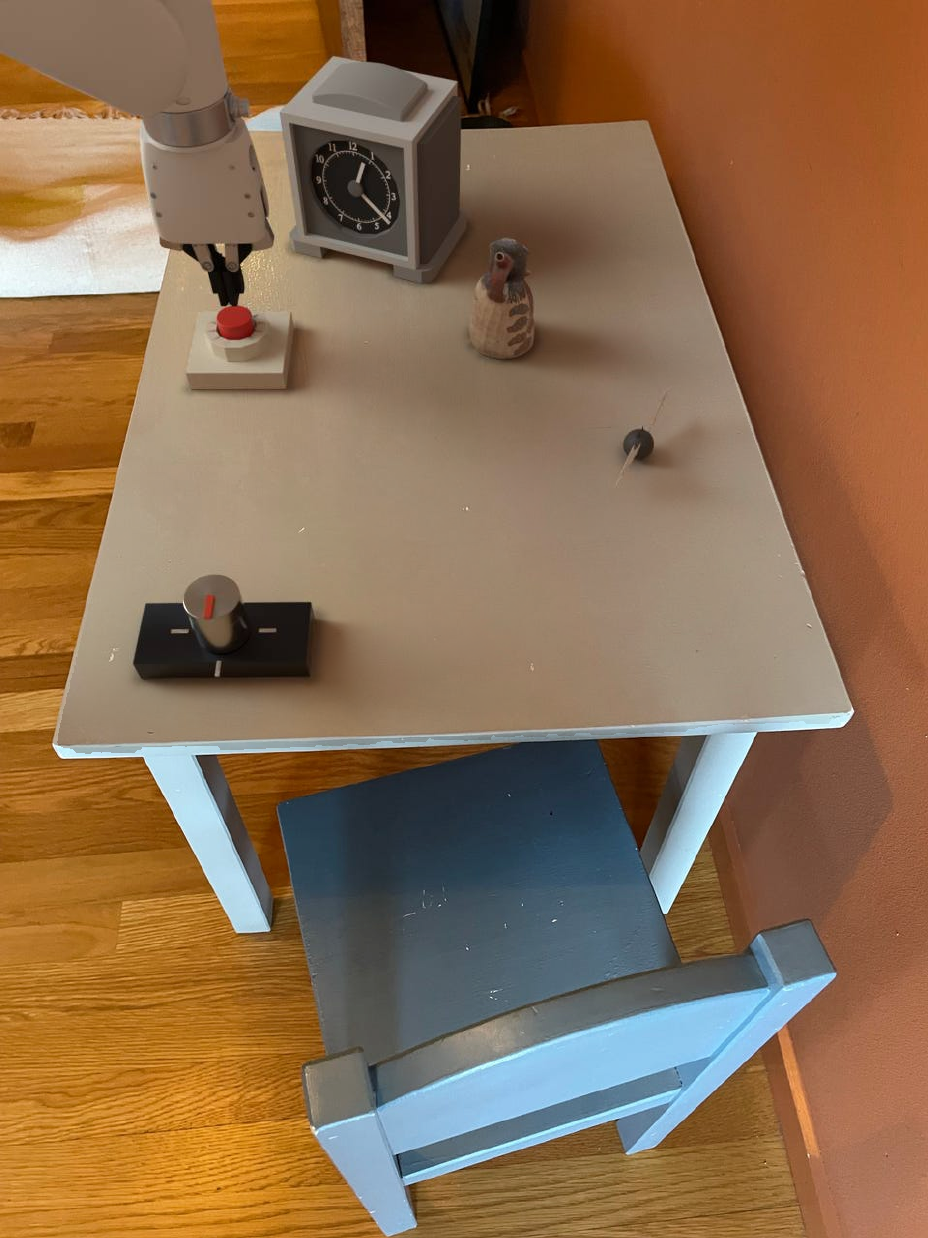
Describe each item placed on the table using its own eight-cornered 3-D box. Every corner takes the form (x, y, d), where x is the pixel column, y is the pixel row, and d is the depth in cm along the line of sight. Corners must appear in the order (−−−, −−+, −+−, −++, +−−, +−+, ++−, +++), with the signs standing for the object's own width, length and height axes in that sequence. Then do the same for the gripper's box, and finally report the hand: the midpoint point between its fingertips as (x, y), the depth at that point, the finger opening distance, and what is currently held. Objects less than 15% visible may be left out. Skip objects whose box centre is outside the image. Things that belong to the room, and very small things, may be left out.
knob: (200, 609, 76) (185, 572, 72) (253, 609, 76) (241, 571, 72) (193, 654, 74) (177, 618, 69) (248, 653, 74) (235, 617, 69)
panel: (138, 693, 75) (128, 676, 72) (155, 607, 79) (147, 589, 77) (308, 691, 75) (304, 674, 73) (316, 605, 80) (312, 587, 77)
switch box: (190, 389, 95) (180, 358, 91) (203, 327, 100) (195, 296, 97) (286, 389, 95) (280, 358, 92) (294, 327, 101) (288, 296, 97)
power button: (217, 341, 94) (214, 327, 92) (222, 318, 96) (218, 304, 94) (252, 341, 94) (249, 327, 92) (256, 318, 96) (253, 304, 94)
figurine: (544, 331, 101) (555, 232, 91) (516, 368, 97) (524, 270, 87) (487, 310, 103) (492, 212, 93) (457, 347, 99) (459, 248, 89)
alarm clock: (287, 249, 108) (261, 90, 93) (333, 192, 115) (317, 34, 100) (429, 285, 105) (427, 125, 90) (469, 223, 112) (472, 66, 97)
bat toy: (675, 413, 94) (686, 377, 90) (622, 510, 87) (630, 476, 83) (648, 403, 95) (657, 368, 91) (593, 498, 87) (600, 464, 83)
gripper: (280, 90, 79) (307, 274, 94) (106, 89, 78) (162, 274, 93) (272, 136, 74) (302, 321, 90) (88, 136, 74) (150, 322, 89)
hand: (230, 297), depth 91 cm, fingers closed
